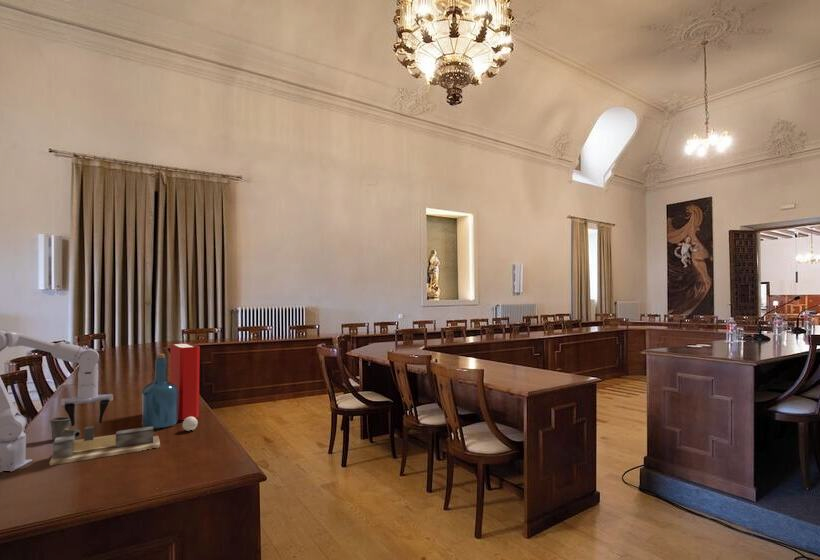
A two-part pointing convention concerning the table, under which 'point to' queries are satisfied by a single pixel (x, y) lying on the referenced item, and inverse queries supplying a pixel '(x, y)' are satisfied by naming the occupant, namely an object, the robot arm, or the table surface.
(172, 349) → the book
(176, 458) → the table surface
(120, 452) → the grey blocks on plank
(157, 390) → the wine bottle
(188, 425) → the white oval ball
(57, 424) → the pipe
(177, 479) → the table surface
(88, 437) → the tan flat block
